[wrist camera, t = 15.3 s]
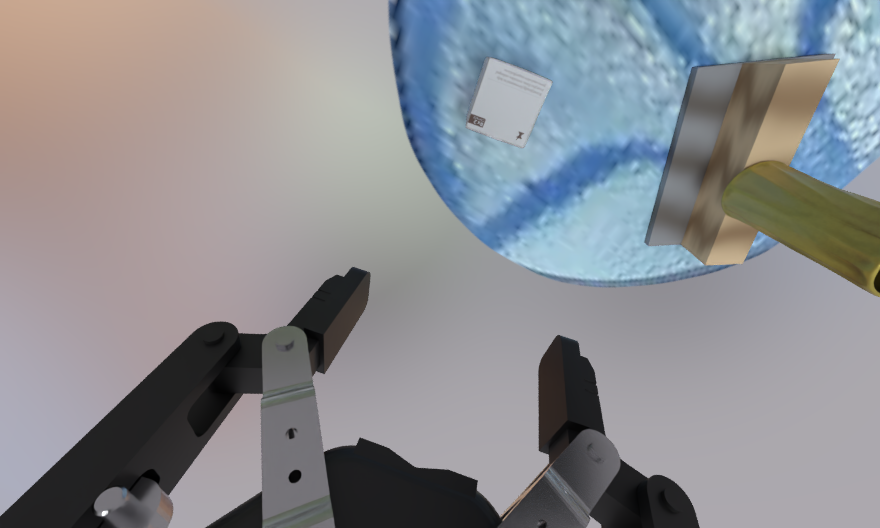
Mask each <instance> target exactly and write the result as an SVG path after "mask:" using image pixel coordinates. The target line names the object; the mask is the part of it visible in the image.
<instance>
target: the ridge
mask: <svg viewBox="0 0 880 528" xmlns="http://www.w3.org/2000/svg"><path fill="white" fill-rule="evenodd" d="M834 56H835V54H819V55H810V56H800V57H790V58H780V59H770V60H761V61H751V62H741V63H731V64H721V65H711V66H702V67H692V70H691V74H690V77H689V81H688V85H687V88H686V92H685V96H684V100H683V103H682V107H681V111H680V114H679V118H678V122H677V125H676V129H675V133H674V136H673V140H672V144H671V147H670V151H669V155H668V158H667V162H666V166H665V169H664V173H663V177H662V180H661V184H660V188H659V191H658V195H657V199H656V202H655V206H654V210H653V213H652V217H651V221H650V224H649V228H648V232H647V235H646V239H645V243H646V244H647V245H648V246H659V245H680V244H681V245H682V246H683V247H685V248H686V249H687V250H688V251H689V252H690V253H692V254H693V255H694V256H695V257H696V258H697V259H698V260H700V261H701V262H702V263H703V264H704V265H724V264H743V262H744V260H745V258H746V256H747V254H748V252H749V249H750V247H751V245H752V243H753V241H754V239H755V237H756V235H757V232H758V230H756V229H754V228H753V227H751V226H749V225H747V224H745V223H743V222H741V221H739V220H737V219H734V218H731V217H729V216H727V215H726V214H725V212H724V211H723V209H722V206H721V199H722V195H723V192H724V190H725V188H726V186H727V185H728V184H729V182H730V181H731V180H732V179H733V178H734V177H735V176H736V175H738V174H739V173H740V172H742V171H743V170H745V169H747V168H749V167H751V166H753V165H755V164H758V163H761V162H765V161H778V162H782V163H785V164H786V165H788V166H789V165H790V163H791V161H792V159H793V156H794V154H795V152H796V150H797V148H798V146H799V144H800V142H801V140H802V137H803V135H804V133H805V131H806V129H807V127H808V125H809V123H810V121H811V118H812V116H813V114H814V112H815V110H816V108H817V106H818V104H819V102H820V99H821V97H822V95H823V93H824V91H825V89H826V87H827V85H828V83H829V80H830V78H831V76H832V74H833V72H834V70H835V68H836V66H837V64H838V61H839V59H833V58H834Z"/></svg>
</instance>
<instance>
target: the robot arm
mask: <svg viewBox="0 0 880 528" xmlns="http://www.w3.org/2000/svg"><path fill="white" fill-rule="evenodd" d="M369 285H370V272H367V271H364V270H361V269H358V268H355V267H352V268H351V269H350V270H349V272H348V273H347V274H346V275H345V276H344V277H342V276H339V275H335V276H334V277H332V278H330V279H328V280H326V281H325V282H324V283H323V285H322V286H321V287H320V288H319V289H318V291H317V292H316V293H315V294H314V295H313V297H312V298H310V300H309V301H308V302H307V303H306V304H305V305H304V307H303V308H302V309H301V310H300V311H299V312H298V314H297V315H296V316H295V317H294V318H293V320H292V321H291V322H290V323H289V324H288V325H287V326H283V327H279V328H276V329H274V330H272V331H271V332H269V333H268V334H243V333H238V330H237V328H236V327H235V326H234V325H233V324H231V323H228V322H212V323H209V324H206V325H204V326H202V327H200V328H198V329H197V330H196V331H194V332H193V333H192V334H191V335H190V336H189V337H188V338H187V339H186V340H185V341H184V342H183V343H182V344H181V345H180V346H179V347H178V348H176V349H175V350H174V351H173V352H172V353H171V354H170V355H169V356H168V357H167V358H166V359H165V360H164V361H163V362H162V363H161V364H160V365H159V366H158V367H157V368H156V369H155V370H153V371H152V372H151V373H150V374H149V375H148V376H147V377H146V378H145V379H144V380H143V381H142V382H141V383H140V384H139V385H138V386H137V387H136V388H135V389H134V390H132V391H131V392H130V393H129V394H128V395H127V396H126V397H125V398H124V399H123V400H122V401H121V402H120V403H119V404H118V405H117V406H116V407H115V408H114V409H113V410H111V411H110V412H109V413H108V414H107V415H106V416H105V417H104V418H103V419H102V420H101V421H100V422H99V423H98V424H97V425H96V426H95V427H94V428H93V429H91V430H90V431H89V432H88V434H86V435H85V436H84V437H83V438H82V439H81V440H80V441H79V442H78V443H77V444H76V445H75V446H74V447H73V448H72V449H71V450H70V451H69V452H68V453H66V454H65V455H64V456H63V457H62V458H61V459H60V460H59V461H58V462H57V463H56V464H55V465H54V466H53V467H52V468H51V469H50V470H49V471H47V472H46V473H45V474H44V475H43V476H42V477H41V478H40V479H39V480H38V481H37V482H36V483H35V484H34V485H33V486H32V487H31V488H30V489H29V490H28V491H27V492H25V493H24V494H23V495H22V496H21V497H20V498H19V499H18V500H17V501H16V502H15V503H14V504H13V505H12V506H11V507H10V508H9V509H8V510H7V511H5V513H3V514H2V515H1V516H0V528H167V527H168V525H169V523H170V521H171V518H172V515H173V503H172V500H171V499H170V497H169V496H168V495H169V494H170V493H171V491H172V490H173V488H174V487H175V486H176V484H177V483H178V482H179V480H180V479H181V478H182V476H183V475H184V474H185V472H186V471H187V469H188V468H189V467H190V465H191V464H192V463H193V461H194V460H195V459H196V457H197V456H198V455H199V453H200V452H201V450H202V449H203V448H204V446H205V445H206V444H207V442H208V441H209V440H210V438H211V437H212V435H213V434H214V433H215V431H216V430H217V429H218V427H219V426H220V425H221V423H222V422H223V421H224V419H225V418H226V417H227V415H228V414H229V412H230V411H231V410H232V408H233V407H234V406H235V404H236V403H237V402H238V400H239V399H240V398H241V396H242V395H243V393H245V394H247V393H250V394H263V398H262V399H261V448H262V450H261V452H262V491H261V492H260V493H258V494H257V495H256V496H254V497H252V498H251V499H249V500H248V501H246V502H244V503H243V504H241V505H240V506H238V507H237V508H235V509H234V510H232V511H231V512H229V513H227V514H226V515H224V516H223V517H221V518H220V519H218V520H217V521H215V522H213V523H212V524H210V525H209V526H207V527H206V528H586V527H587V525H588V523H589V521H590V518H589V515H590V516H591V517H592V518H594V519H595V520H596V521H598V522H599V523H600V524H601V526H602V528H700V527H699V524H698V520H697V517H696V513H695V510H694V507H693V505H692V503H691V501H690V499H689V498H688V496H687V495H686V494H685V492H684V491H683V490H682V489H681V488H680V487H679V486H678V485H677V484H676V483H675V482H674V481H672V480H671V479H669V478H667V477H665V476H662V475H654V476H651V477H650V478H647V477H645V476H644V475H642V474H641V473H639V472H638V471H637V470H635V469H634V468H632V467H631V466H629V465H628V464H626V463H625V462H624V461H622V460H621V459H620V457H619V454H618V452H617V449H616V448H615V447H614V445H613V443H612V442H611V441H610V440H609V439H608V438H607V437H606V435H605V431H604V425H603V419H602V413H601V407H600V402H599V396H598V389H597V386H596V378H595V372H594V369H593V368H592V366H591V364H590V362H589V360H588V359H587V358H585V357H582V356H580V351H579V343H578V342H577V341H575V340H572V339H569V338H566V337H563V336H560V335H557V336H556V338H555V339H554V340H553V342H552V344H551V345H550V346H549V348H548V350H547V351H546V352H545V354H544V356H543V357H542V359H541V362H540V365H539V375H538V376H539V451H540V452H543V453H546V454H549V464H548V465H547V466H546V467H545V468H544V469H543V471H541V472H540V474H539V475H538V476H537V477H536V478H535V479H534V480H533V481H532V483H531V484H530V485H529V486H528V487H527V488H526V489H525V490H524V491H523V492H522V494H521V495H520V496H519V497H518V498H517V499H516V500H515V501H514V502H513V503H512V504H511V505H510V506H509V507H508V508H507V509H506V511H505V512H504V513H503V514H502V515H501V516H499V515H498V513H497V512H496V511H495V509H494V507H493V506H492V505H491V504H490V502H489V501H488V500H487V499H486V498H485V497H484V496H483V495H482V494H481V493H479V492H478V491H477V482H478V481H477V480H475V479H472V478H469V477H467V476H464V475H461V474H458V473H456V472H453V471H450V470H444V469H428V468H416V467H414V466H412V465H411V464H410V463H408V462H407V461H406V460H404V459H403V458H401V457H400V456H399V455H397V454H396V453H395V452H393V451H392V450H390V449H389V448H387V447H384V446H382V445H379V444H376V443H374V442H371V441H368V440H365V439H363V438H359V441H358V443H357V445H356V446H341V447H337V448H333V449H330V450H327V451H325V452H323V444H322V437H321V430H320V423H319V417H318V409H317V402H316V395H315V389H314V386H313V380H312V377H313V375H314V374H315V372H316V371H318V372H320V373H323V374H325V372H326V371H327V369H328V368H329V366H330V364H331V363H332V361H333V360H334V358H335V356H336V355H337V353H338V352H339V350H340V348H341V347H342V345H343V344H344V342H345V340H346V339H347V337H348V336H349V334H350V332H351V331H352V329H353V328H354V326H355V324H356V322H357V321H358V320H359V318H360V316H361V315H362V313H363V311H364V310H365V307H366V305H367V301H368V296H369Z"/></svg>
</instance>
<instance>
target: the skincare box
mask: <svg viewBox="0 0 880 528" xmlns="http://www.w3.org/2000/svg"><path fill="white" fill-rule="evenodd" d="M552 83H553V82H552V81H551V80H549V79H547V78H545V77H542V76H540V75H538V74H535V73H533V72H531V71H528V70H526V69H523V68H520V67H518V66H515V65H512V64H510V63H507V62H504V61H501V60H498V59H495V58H491V57H486V58H485V60H484V63H483V66H482V69H481V72H480V75H479V78H478V82H477V85H476V88H475V91H474V94H473V97H472V100H471V103H470V106H469V110H468V113H467V118H466V128H468V129H470V130H473V131H475V132H478V133H480V134H483V135H486V136H488V137H491V138H493V139H496V140H499V141H502V142H505V143H508V144H511V145H514V146H517V147H520V148H524V147H525V145H526V143H527V141H528V138H529V136H530V134H531V131H532V129H533V127H534V124H535V122H536V120H537V117H538V115H539V112H540V110H541V108H542V105H543V103H544V101H545V98H546V96H547V94H548V92H549V89H550V87H551V85H552Z"/></svg>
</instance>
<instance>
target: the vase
mask: <svg viewBox="0 0 880 528" xmlns="http://www.w3.org/2000/svg"><path fill="white" fill-rule="evenodd" d="M721 206H722V209H723V211H724V212H725V214H726V215H727V216H729V217H731V218H734V219H737V220H739V221H741V222H743V223H745V224H747V225H749V226H751V227H753V228H754V229H756V230H758V231H760V232H762V233H764V234H765V235H767V236H769V237H771V238H772V239H774V240H776V241H778V242H780V243H782V244H784V245H785V246H787V247H789V248H790V249H792V250H794V251H796V252H798V253H800V254H802V255H804V256H806V257H807V258H809V259H811V260H813V261H815V262H816V263H819V264H820V265H822V266H824V267H826V268H828V269H829V270H831V271H833V272H834V273H836V274H838V275H840V276H841V277H843V278H845V279H847V280H848V281H850V282H852V283H853V284H855V285H857V286H858V287H860V288H862V289H864V290H865V291H867V292H869V293H871V294H873V295H875V296H878V297H880V202H878V201H875V200H873V199H870V198H867V197H864V196H861V195H858V194H855V193H851V192H848V191H845V190H842V189H839V188H836V187H834V186H832V185H829V184H827V183H824V182H822V181H819V180H817V179H815V178H813V177H811V176H809V175H807V174H805V173H803V172H800V171H798V170H796V169H794V168H792V167H790V166H788V165H786V164H785V163H782V162H778V161H765V162H761V163H758V164H755V165H753V166H751V167H749V168H747V169H745V170H743V171H742V172H740V173H739V174H738V175H736V176H735V177H734V178H733V179H732V180H731V181H730V182H729V184H728V185H727V186H726V188H725V190H724V192H723V195H722V199H721Z"/></svg>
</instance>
